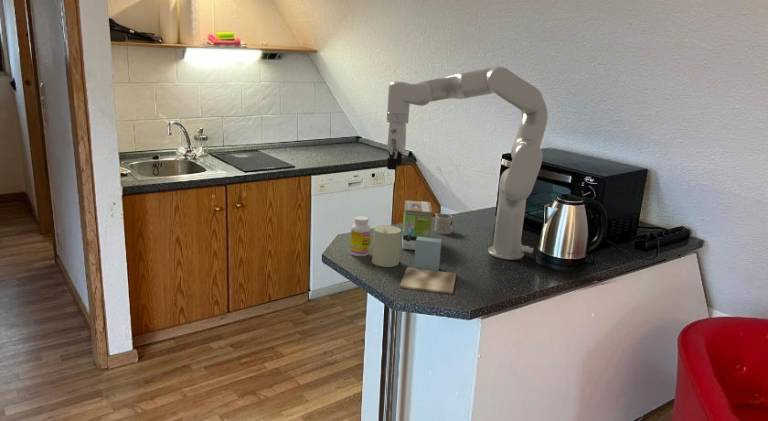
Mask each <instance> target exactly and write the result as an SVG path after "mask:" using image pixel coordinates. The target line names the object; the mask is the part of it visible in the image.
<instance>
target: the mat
mask: <svg viewBox="0 0 768 421" xmlns="http://www.w3.org/2000/svg"><path fill="white" fill-rule="evenodd" d="M456 278H457V272H456V273H455V272H450V271H439V270H438V271H433V270H425V269H417V268H414V267H406V269H405V272H404V275H403V277H402V279H401V282H400V283H399V288H401V289H410V290H416V291H417V290H418V291H424V292H433V293H440V294H446V295H447V294H449V295H453V294H454V288H455V282H456Z"/></svg>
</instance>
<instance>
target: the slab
mask: <svg viewBox="0 0 768 421" xmlns="http://www.w3.org/2000/svg"><path fill="white" fill-rule="evenodd" d="M441 248H442V239H441V238H432V237H430V238H426V237H417V239H416V247H415V250H414V258H413V259H414V261H413V268H417V269H425V270H433V271H439V269H440V263H441V262H440V261H441V250H442V249H441Z"/></svg>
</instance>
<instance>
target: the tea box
mask: <svg viewBox="0 0 768 421" xmlns="http://www.w3.org/2000/svg"><path fill="white" fill-rule="evenodd" d="M403 207H404V208H403V216H402V218H403V220H402V229H401V247H402V249H403V250H414V251H415V247H416V239H417V237H426V238H431V231H432V223H433V213H434V212H433V208H432V203H431V202H430V201H421V200H420V201H419V200H406V199H405V200H404V206H403Z"/></svg>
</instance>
